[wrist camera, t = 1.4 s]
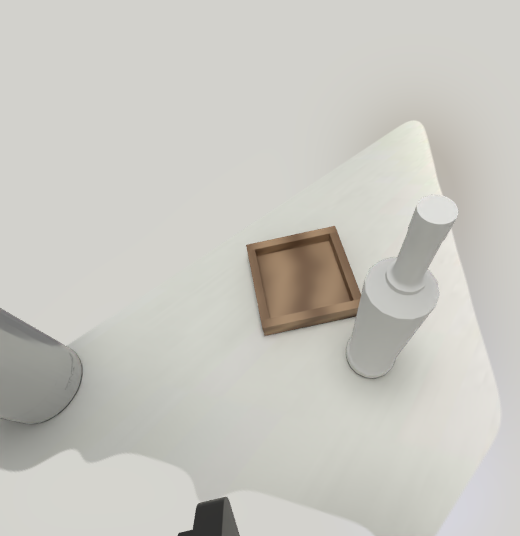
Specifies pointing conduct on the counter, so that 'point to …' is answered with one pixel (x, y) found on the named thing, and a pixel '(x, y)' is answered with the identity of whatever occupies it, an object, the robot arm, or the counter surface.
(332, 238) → the walnut tray
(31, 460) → the counter surface
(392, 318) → the bottle
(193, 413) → the counter surface
